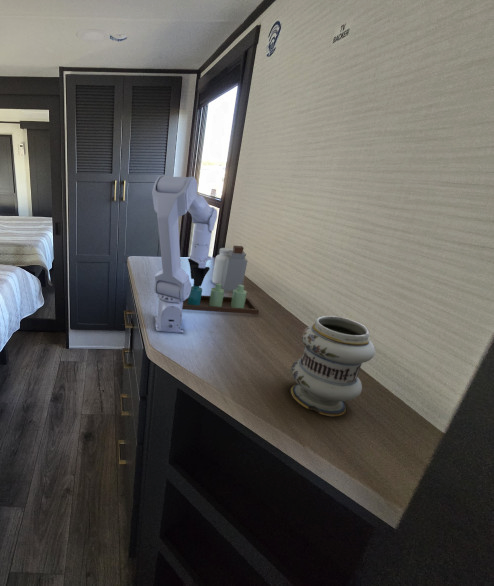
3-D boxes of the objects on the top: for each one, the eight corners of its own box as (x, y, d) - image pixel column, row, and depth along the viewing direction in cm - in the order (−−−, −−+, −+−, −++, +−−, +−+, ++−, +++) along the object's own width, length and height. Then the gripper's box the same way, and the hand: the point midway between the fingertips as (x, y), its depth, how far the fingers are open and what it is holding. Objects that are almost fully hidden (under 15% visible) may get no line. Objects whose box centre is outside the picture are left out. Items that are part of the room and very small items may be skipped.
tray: (257, 316, 105) (258, 310, 104) (179, 311, 107) (180, 305, 107) (247, 303, 115) (248, 298, 114) (176, 299, 117) (177, 293, 116)
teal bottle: (201, 306, 109) (204, 285, 106) (188, 306, 110) (191, 284, 107) (199, 302, 113) (201, 281, 110) (186, 301, 114) (189, 280, 111)
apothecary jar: (282, 404, 65) (304, 327, 58) (287, 375, 74) (307, 306, 68) (354, 430, 59) (388, 347, 52) (350, 395, 68) (378, 321, 61)
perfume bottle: (241, 293, 125) (249, 249, 118) (223, 291, 126) (230, 248, 119) (237, 287, 131) (245, 245, 124) (221, 286, 132) (228, 244, 125)
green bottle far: (245, 309, 108) (249, 288, 105) (232, 308, 108) (236, 287, 105) (241, 304, 112) (245, 283, 109) (229, 303, 112) (232, 283, 109)
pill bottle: (207, 281, 138) (212, 247, 132) (221, 279, 141) (226, 246, 135) (221, 287, 131) (226, 252, 126) (235, 284, 134) (241, 250, 129)
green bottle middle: (223, 308, 108) (226, 286, 106) (210, 307, 109) (213, 286, 106) (220, 303, 112) (223, 282, 110) (207, 302, 113) (210, 281, 110)
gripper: (218, 249, 97) (211, 290, 101) (209, 239, 110) (203, 276, 115) (194, 248, 97) (189, 288, 102) (188, 239, 111) (184, 275, 116)
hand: (195, 282), depth 109 cm, fingers open, 7 cm apart
